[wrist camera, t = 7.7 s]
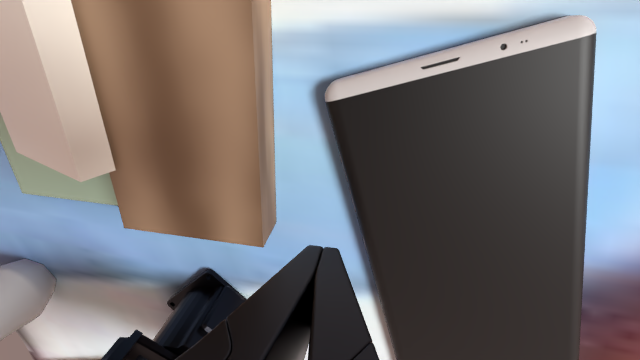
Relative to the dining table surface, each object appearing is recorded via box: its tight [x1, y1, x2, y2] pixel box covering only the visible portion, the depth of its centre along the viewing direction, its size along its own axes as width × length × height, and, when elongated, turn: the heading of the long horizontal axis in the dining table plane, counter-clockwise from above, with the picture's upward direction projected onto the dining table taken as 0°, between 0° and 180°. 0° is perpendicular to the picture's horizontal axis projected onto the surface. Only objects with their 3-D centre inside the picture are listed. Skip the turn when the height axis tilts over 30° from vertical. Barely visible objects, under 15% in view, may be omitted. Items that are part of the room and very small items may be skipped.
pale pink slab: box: [0, 0, 116, 182], centre depth 18 cm, size 11×8×2 cm
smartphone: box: [325, 15, 596, 360], centre depth 22 cm, size 13×27×2 cm, turn 16°
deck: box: [71, 0, 276, 247], centre depth 19 cm, size 10×20×3 cm, turn 178°
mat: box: [0, 113, 118, 206], centre depth 21 cm, size 12×20×1 cm, turn 177°
